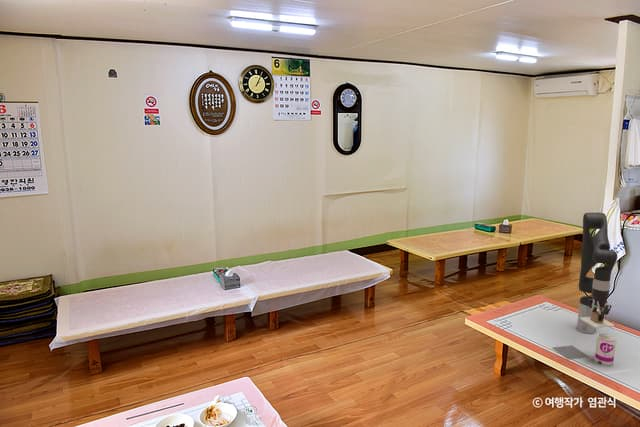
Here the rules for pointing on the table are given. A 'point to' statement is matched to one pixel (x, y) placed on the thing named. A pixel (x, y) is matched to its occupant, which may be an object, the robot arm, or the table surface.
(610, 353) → the supplement can
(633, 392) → the table surface
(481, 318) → the table surface
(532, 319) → the table surface
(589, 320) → the board
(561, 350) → the rubber mat
